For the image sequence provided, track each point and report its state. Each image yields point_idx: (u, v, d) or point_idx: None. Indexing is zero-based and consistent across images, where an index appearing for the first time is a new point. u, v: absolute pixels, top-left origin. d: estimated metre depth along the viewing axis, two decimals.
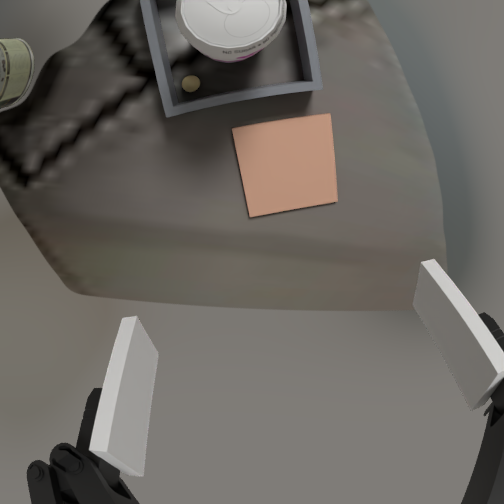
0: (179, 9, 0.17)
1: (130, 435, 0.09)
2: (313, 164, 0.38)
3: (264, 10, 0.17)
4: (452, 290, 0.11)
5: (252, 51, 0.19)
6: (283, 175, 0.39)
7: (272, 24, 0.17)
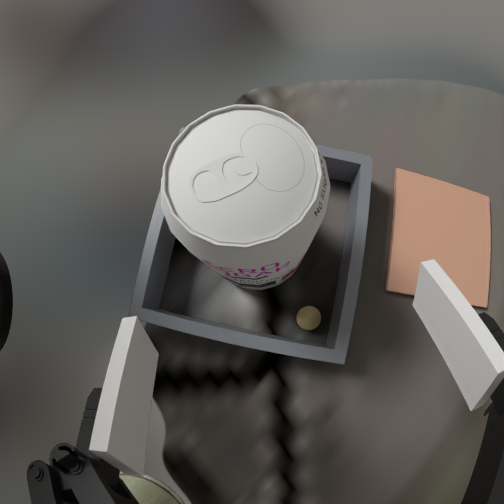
0: (208, 249, 0.13)
1: (130, 435, 0.09)
2: (449, 208, 0.27)
3: (268, 131, 0.14)
4: (452, 290, 0.11)
5: (327, 177, 0.14)
6: (455, 248, 0.26)
7: (295, 129, 0.14)
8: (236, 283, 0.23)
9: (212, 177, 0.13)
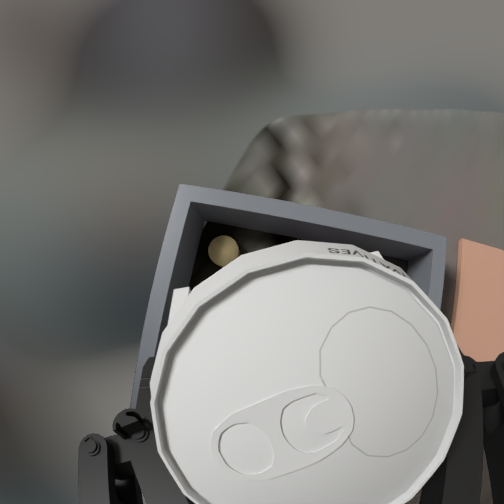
0: None
1: None
2: None
3: (379, 327, 0.06)
4: None
5: None
6: None
7: (429, 316, 0.06)
8: None
9: (260, 435, 0.06)
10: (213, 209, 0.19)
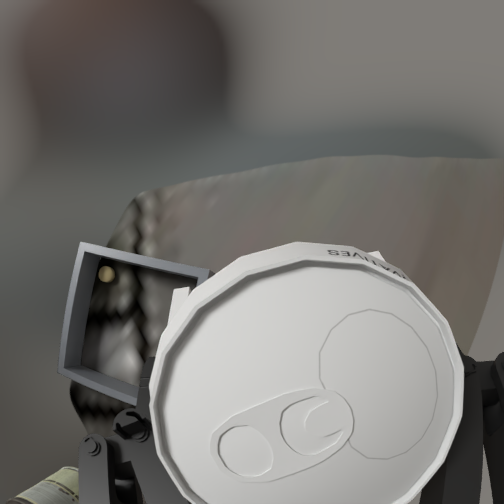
0: None
1: None
2: None
3: (379, 330, 0.06)
4: None
5: None
6: None
7: (429, 318, 0.06)
8: None
9: (259, 438, 0.06)
10: (96, 254, 0.35)
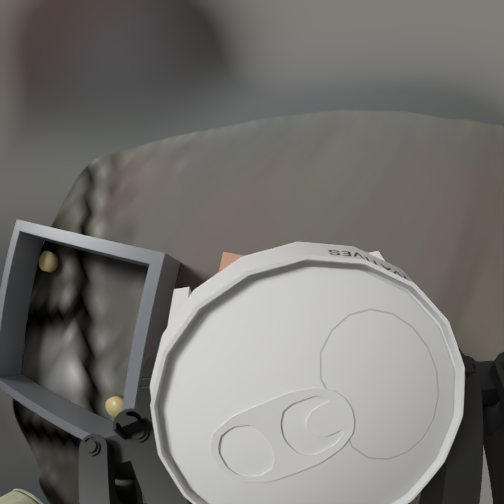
0: None
1: None
2: None
3: (380, 330, 0.06)
4: None
5: None
6: None
7: (430, 318, 0.06)
8: None
9: (260, 437, 0.06)
10: (33, 235, 0.24)
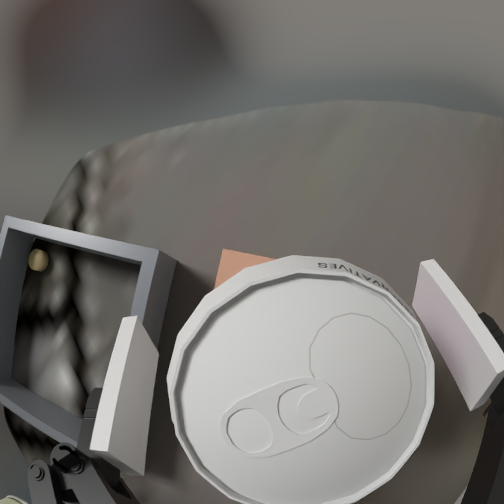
0: None
1: (131, 435, 0.09)
2: None
3: (359, 330, 0.07)
4: (451, 290, 0.11)
5: None
6: None
7: (403, 321, 0.07)
8: None
9: (260, 418, 0.07)
10: (22, 232, 0.22)
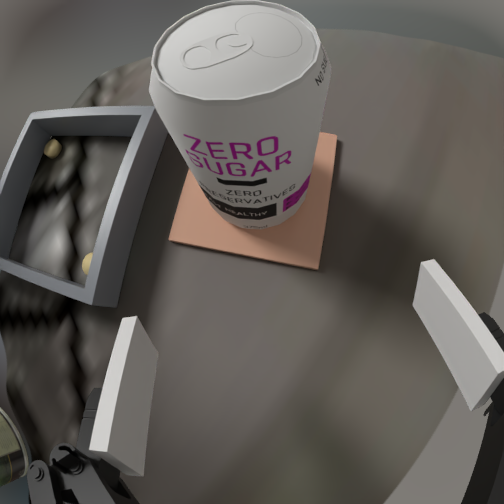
0: (196, 113, 0.11)
1: (130, 435, 0.09)
2: None
3: (264, 17, 0.11)
4: (452, 290, 0.11)
5: (327, 59, 0.12)
6: None
7: (292, 16, 0.11)
8: (232, 213, 0.21)
9: (205, 50, 0.11)
10: (43, 123, 0.26)
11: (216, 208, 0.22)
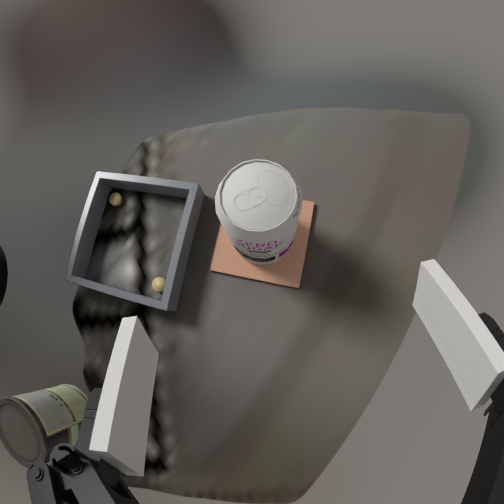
0: (242, 233, 0.28)
1: (130, 435, 0.09)
2: None
3: (271, 174, 0.28)
4: (452, 290, 0.11)
5: (301, 197, 0.29)
6: None
7: (285, 173, 0.28)
8: (250, 259, 0.38)
9: (244, 198, 0.28)
10: (109, 181, 0.43)
11: None
